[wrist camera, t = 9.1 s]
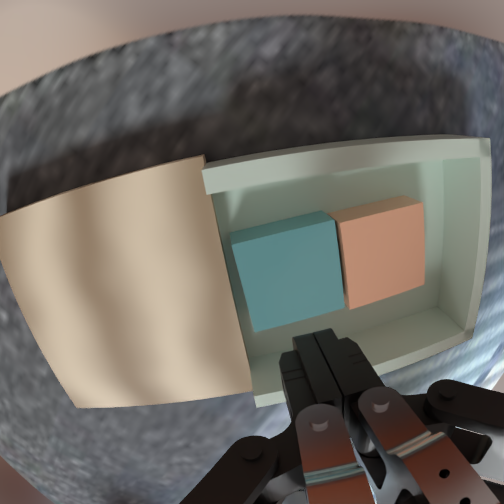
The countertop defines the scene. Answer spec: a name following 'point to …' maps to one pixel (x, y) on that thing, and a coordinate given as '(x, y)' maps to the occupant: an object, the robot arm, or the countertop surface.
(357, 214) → the terracotta tile
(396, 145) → the box
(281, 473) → the robot arm
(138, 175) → the maple plate
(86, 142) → the countertop surface
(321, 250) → the teal square block
